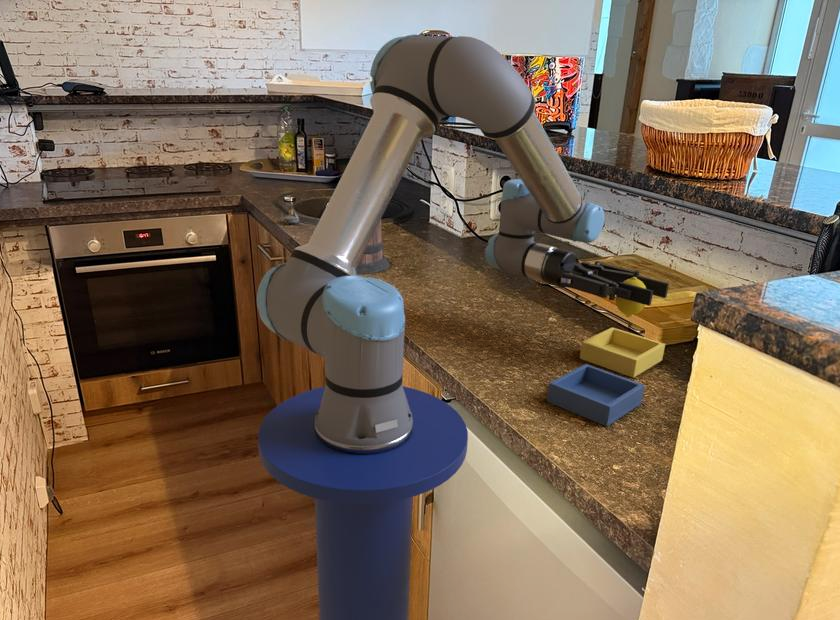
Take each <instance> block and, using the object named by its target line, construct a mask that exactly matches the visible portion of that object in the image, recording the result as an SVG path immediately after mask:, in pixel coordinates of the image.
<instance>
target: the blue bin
mask: <svg viewBox="0 0 840 620" xmlns="http://www.w3.org/2000/svg"><path fill="white" fill-rule="evenodd" d="M645 386H646V385H645V384H643V383H640V382H637V381H634V380H632V379H629V378H627V377H624V376H621V375H618V374H615V373H612V372H611V371H607V370H604V369H602V368H598V367H596V366H593V365H590V364H588V363H585V364H583V365H580V366H578V367H576V368H574V369H573V370H571V371H569V372H567V373H566V374H564V375H562V376H560V377H558V378H556V379H554V380H552V381H550V382H549V383H548V390H547V397H546V398H547V399H546V402H548V403H550V404H552V405H554V406H557V407H559V408H562V409H565V410H567V411H569V412H571V413H573V414H576V415H578V416H581V417H583V418H586V419H588V420H590V421H592V422H594V423H598V424H599V425H602V426H604V427H609V426H610V425H611V424H613V423H614V422H617V420H619V419H621V418H622V417H623V416H625V415H626V414H628V413H630V412H631V411H633V410H634V409H635V408H637V407H638V406H640V405H642V402H643V398H644V391H645V388H646V387H645Z"/></svg>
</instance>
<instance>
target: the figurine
mask: <svg viewBox="0 0 840 620" xmlns="http://www.w3.org/2000/svg"><path fill="white" fill-rule="evenodd" d="M282 220H283V222H284V223H286V226H288V225H289V224H290V225H292V224H297V223H299V221H300V218H299V216H298V214H297V213H296V211H295V210H294V209H293V207H292V205H291V206H290V207H289V210H288V214H287V215H285V216H284V217H283V218H282Z"/></svg>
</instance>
